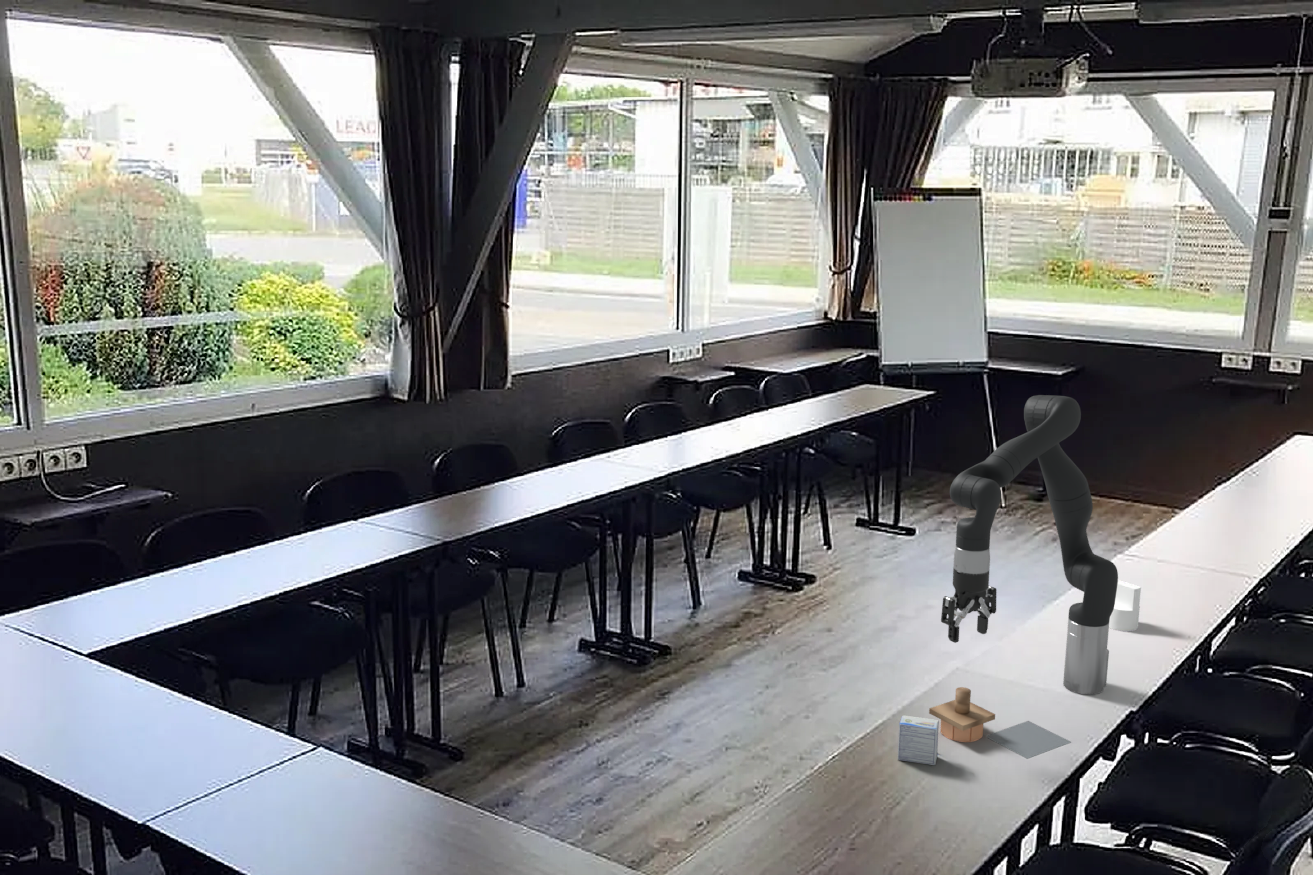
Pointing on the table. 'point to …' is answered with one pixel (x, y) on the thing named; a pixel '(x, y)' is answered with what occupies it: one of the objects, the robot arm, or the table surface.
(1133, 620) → the cylinder with rectangular tab
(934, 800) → the table surface
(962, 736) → the bowl
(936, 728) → the medicine box
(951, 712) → the lid
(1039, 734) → the mat
